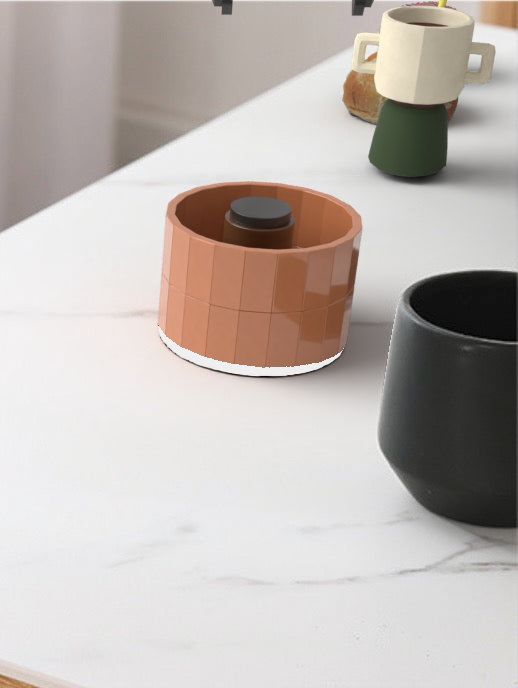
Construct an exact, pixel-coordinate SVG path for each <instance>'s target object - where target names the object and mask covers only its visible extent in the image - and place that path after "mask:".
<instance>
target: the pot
mask: <svg viewBox="0 0 518 688" xmlns="http://www.w3.org/2000/svg"><path fill="white" fill-rule="evenodd" d="M245 197H268V198H273V199H277V200H280V201H283V202H285V203H287V204H288V205H289V206H290V207H291V215H292V216H293V217H294V218H295V226H294V235H293V244H292V249H281V250H274V249H259V248H248V247H242V246H237V245H232V244H227V243H222V242H223V231H224V220H225V214H226V213H227V212H228V211H229V210H230V207H231V204H232V202H233V201H235V200H237V199H240V198H245ZM164 220H165V221H164V234H163V247H162V262H161V274H160V287H159V302H158V313H157V314H158V316H157V326H158V325H159V327H160V328H161V330H162V331H163V333H164V334H165V335H166V337H168V338H169V339H171V340H172V341H173V342H175V343H176V344H177V345H179V346H180V347H182V348H185V349H188V350H190V351H192V352H194V353H197V354H199V355H201V356H204V357H207V358H212V359H214V360H218V361H222V362H227V363H231V364H239V365H247V366H255V367H262V368H265V367H269V368H270V367H286V366H287V367H290V366H291V367H294V366H300V365H306V364H307V365H308V364H312V363H319V362H322V361H324V360H326V359H329V358H331V357H334V356H335V355H337V354H338V353H340V352H341V351H342V350H343V348H344V346H345V347H346V345H345V344H347V342H348V337H349V330H350V322H351V314H352V308H353V300H354V293H355V286H356V285H355V284H356V278H357V270H358V263H359V257H360V249H361V242H362V236H363V220H362V216H361V215H360V214H359V213H358V211H357V210H356V209H355V208H354V207H353V206H352V205H350V204H349V203H347V202H345V201H343V200H341V199H340V198H337V197H336V196H333V195H331V194H327V193H325V192H322V191H318V190H316V189H312V188H309V187H303V186H297V185H293V184H287V183H280V182H271V181H270V182H268V181H254V180H253V181H252V180H248V181H247V180H245V181H244V180H243V181H225V182H224V181H223V182H217V183H211V184H206V185H200V186H196V187H194V188H191V189H188V190H186V191H183V192H181V193H179V194H177V195H176V196H175V197H174V198H172V199H171V200H170V201H169V202H168V203H167V205H166V211H165V219H164Z"/></svg>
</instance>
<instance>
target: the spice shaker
mask: <svg viewBox="0 0 518 688" xmlns="http://www.w3.org/2000/svg"><path fill="white" fill-rule="evenodd" d="M294 226H295V218H294V217H293V216H292V215H291V207H290V206H289V205H288V204H287V203H285V202H283V201H280V200H277V199H273V198H268V197H245V198H240V199H237V200H235V201H233V202H232V204H231V207H230V210H229V211H228V212H227V213H226V214H225V220H224V231H223V242H222V243H227V244H232V245H237V246H242V247H248V248H259V249H274V250H281V249H292V244H293V235H294Z"/></svg>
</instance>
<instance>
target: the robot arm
mask: <svg viewBox="0 0 518 688" xmlns="http://www.w3.org/2000/svg"><path fill="white" fill-rule="evenodd" d="M374 1H375V0H351V16H352V17H363V16H364V12H365V8H372V6H373V4H374ZM211 2H212V4H213V6H214V7H221V16H232V15H233V5H234V4H233V2H234V0H211Z"/></svg>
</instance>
